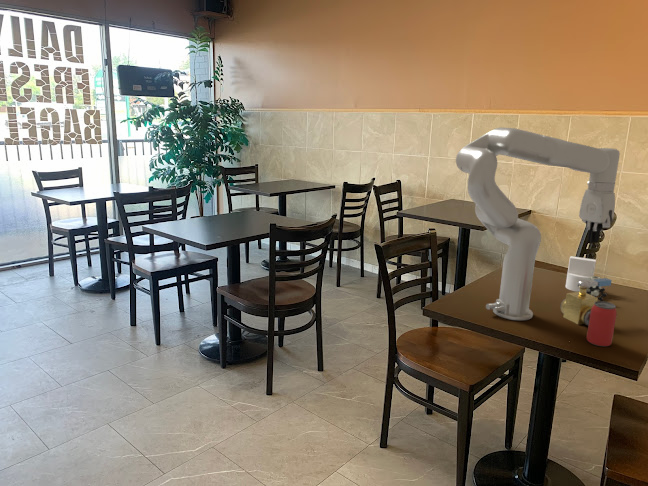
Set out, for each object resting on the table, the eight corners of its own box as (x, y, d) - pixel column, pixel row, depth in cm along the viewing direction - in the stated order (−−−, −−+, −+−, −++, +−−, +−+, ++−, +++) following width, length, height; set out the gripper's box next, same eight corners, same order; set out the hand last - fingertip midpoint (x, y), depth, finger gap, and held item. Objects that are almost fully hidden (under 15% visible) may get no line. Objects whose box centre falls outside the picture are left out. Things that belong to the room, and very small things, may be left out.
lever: (583, 289, 161) (584, 283, 161) (574, 285, 165) (575, 280, 164) (612, 286, 165) (613, 280, 164) (603, 282, 168) (604, 277, 168)
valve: (583, 291, 194) (584, 301, 184) (586, 274, 193) (587, 283, 182) (602, 293, 192) (605, 304, 181) (605, 277, 190) (608, 286, 179)
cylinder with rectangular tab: (564, 289, 195) (568, 259, 192) (566, 283, 203) (570, 254, 200) (590, 294, 191) (595, 263, 188) (591, 287, 198) (596, 257, 195)
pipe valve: (600, 325, 162) (606, 292, 159) (584, 328, 160) (590, 294, 157) (572, 311, 173) (577, 280, 170) (557, 313, 171) (561, 282, 168)
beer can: (584, 336, 154) (590, 299, 151) (608, 339, 152) (615, 302, 149) (588, 345, 148) (594, 307, 145) (613, 348, 146) (620, 310, 143)
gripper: (574, 184, 170) (566, 237, 174) (611, 191, 156) (601, 248, 161) (592, 183, 172) (584, 236, 177) (629, 190, 158) (620, 247, 163)
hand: (592, 241), depth 169 cm, fingers closed
